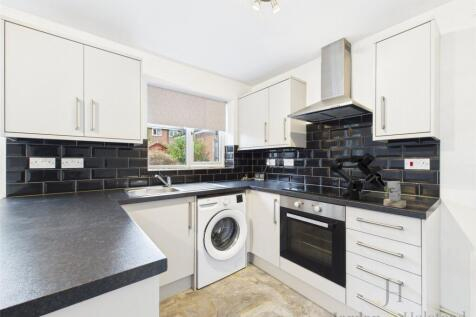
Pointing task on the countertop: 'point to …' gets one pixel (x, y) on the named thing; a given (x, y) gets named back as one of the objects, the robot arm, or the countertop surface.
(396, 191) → the ink box
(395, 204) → the birch block
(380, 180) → the robot arm
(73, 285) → the countertop surface
